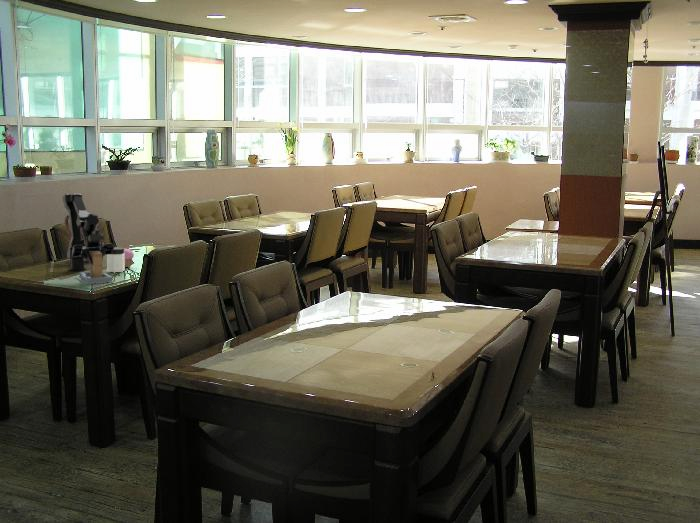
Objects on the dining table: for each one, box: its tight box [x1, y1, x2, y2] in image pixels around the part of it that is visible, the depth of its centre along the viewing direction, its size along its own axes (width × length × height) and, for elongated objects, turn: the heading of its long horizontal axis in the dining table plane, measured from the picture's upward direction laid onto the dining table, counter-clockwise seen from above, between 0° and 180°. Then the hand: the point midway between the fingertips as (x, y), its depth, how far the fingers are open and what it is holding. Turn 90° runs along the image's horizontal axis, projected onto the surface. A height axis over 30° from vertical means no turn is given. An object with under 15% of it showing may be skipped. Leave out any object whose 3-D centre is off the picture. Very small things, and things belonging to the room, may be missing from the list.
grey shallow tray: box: [75, 271, 115, 285], centre depth 375 cm, size 18×13×2 cm
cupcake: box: [124, 248, 135, 268], centre depth 410 cm, size 9×9×10 cm
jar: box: [106, 246, 126, 274], centre depth 398 cm, size 9×8×12 cm
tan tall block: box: [89, 251, 103, 278], centre depth 371 cm, size 6×4×12 cm, turn 34°
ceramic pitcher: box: [64, 213, 105, 262], centre depth 428 cm, size 18×21×25 cm
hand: (97, 264), depth 370 cm, fingers closed on tan tall block, 4 cm apart
